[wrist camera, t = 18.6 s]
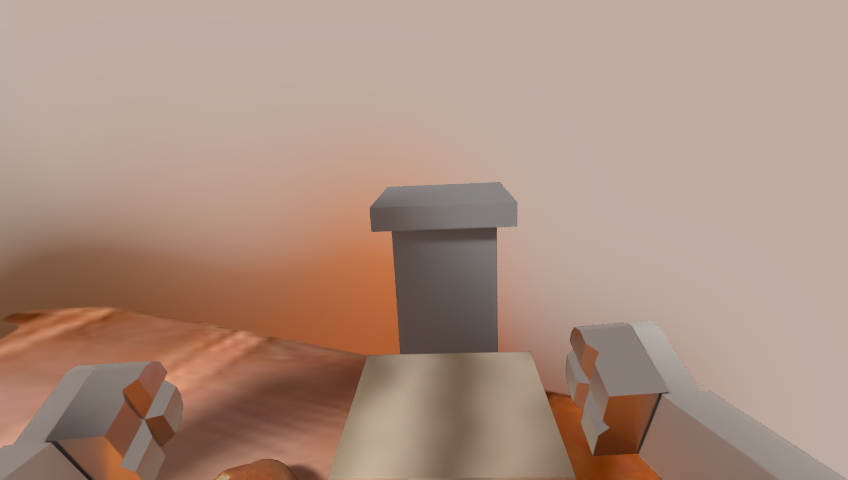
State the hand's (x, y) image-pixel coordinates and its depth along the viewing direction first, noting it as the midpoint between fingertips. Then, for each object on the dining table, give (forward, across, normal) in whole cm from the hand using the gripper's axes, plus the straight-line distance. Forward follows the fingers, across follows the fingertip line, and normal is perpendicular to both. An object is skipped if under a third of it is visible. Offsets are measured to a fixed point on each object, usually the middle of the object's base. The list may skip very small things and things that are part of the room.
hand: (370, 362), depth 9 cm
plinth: (+20, -2, +42) cm, 47 cm away
